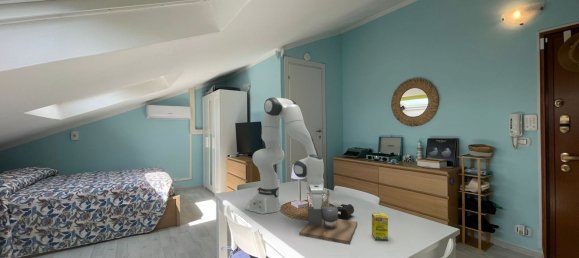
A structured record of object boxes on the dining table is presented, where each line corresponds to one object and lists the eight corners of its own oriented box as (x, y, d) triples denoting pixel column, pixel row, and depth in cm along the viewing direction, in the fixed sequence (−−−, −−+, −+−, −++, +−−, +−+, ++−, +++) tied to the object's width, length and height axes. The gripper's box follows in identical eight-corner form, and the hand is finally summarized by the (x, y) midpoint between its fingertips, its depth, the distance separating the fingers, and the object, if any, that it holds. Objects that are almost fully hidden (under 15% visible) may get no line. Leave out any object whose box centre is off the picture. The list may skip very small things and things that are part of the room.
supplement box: (375, 240, 113) (375, 217, 113) (371, 235, 119) (371, 212, 119) (388, 241, 113) (388, 217, 113) (384, 235, 119) (384, 212, 119)
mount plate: (299, 235, 120) (299, 223, 120) (314, 218, 142) (314, 208, 142) (349, 244, 110) (349, 232, 110) (357, 224, 132) (357, 214, 132)
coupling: (338, 222, 129) (338, 206, 129) (337, 228, 121) (337, 211, 121) (309, 220, 132) (309, 204, 132) (307, 225, 124) (307, 209, 124)
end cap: (347, 221, 136) (347, 209, 136) (335, 218, 141) (335, 207, 140) (354, 216, 145) (354, 204, 144) (343, 213, 149) (343, 202, 149)
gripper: (307, 181, 140) (307, 205, 140) (311, 191, 120) (310, 219, 120) (318, 181, 140) (318, 205, 140) (323, 191, 120) (323, 219, 120)
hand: (315, 211), depth 130 cm, fingers closed
